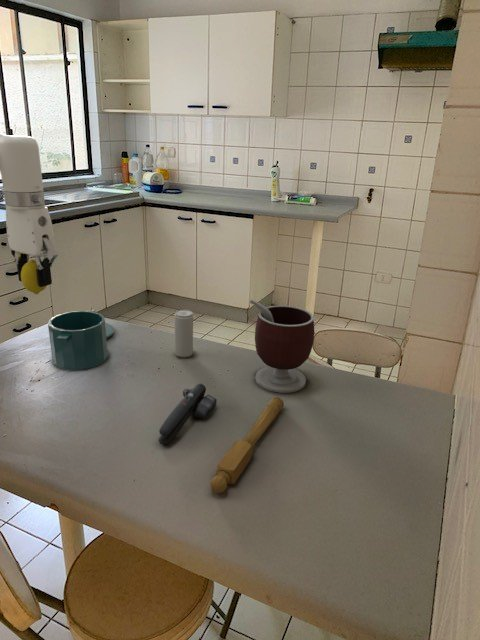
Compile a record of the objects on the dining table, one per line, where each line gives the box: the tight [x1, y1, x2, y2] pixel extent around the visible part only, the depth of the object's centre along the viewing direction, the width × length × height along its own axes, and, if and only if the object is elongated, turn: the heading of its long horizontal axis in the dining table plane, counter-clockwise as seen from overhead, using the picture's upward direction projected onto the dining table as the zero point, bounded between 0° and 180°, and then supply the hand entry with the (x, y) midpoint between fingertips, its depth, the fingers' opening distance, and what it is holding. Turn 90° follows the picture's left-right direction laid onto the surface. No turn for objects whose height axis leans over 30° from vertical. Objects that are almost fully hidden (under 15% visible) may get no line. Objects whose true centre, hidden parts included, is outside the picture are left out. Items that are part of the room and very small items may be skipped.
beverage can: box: [174, 309, 194, 359], centre depth 122 cm, size 5×5×12 cm
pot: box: [47, 309, 109, 371], centre depth 118 cm, size 13×19×10 cm
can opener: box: [158, 383, 218, 446], centre depth 94 cm, size 18×7×6 cm, turn 154°
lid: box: [105, 322, 115, 339], centre depth 132 cm, size 14×14×7 cm
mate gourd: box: [249, 299, 315, 394], centre depth 110 cm, size 16×14×20 cm
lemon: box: [20, 259, 47, 295], centre depth 102 cm, size 6×6×8 cm
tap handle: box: [209, 396, 285, 494], centre depth 89 cm, size 3×3×30 cm
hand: (35, 281), depth 103 cm, fingers closed on lemon, 5 cm apart
